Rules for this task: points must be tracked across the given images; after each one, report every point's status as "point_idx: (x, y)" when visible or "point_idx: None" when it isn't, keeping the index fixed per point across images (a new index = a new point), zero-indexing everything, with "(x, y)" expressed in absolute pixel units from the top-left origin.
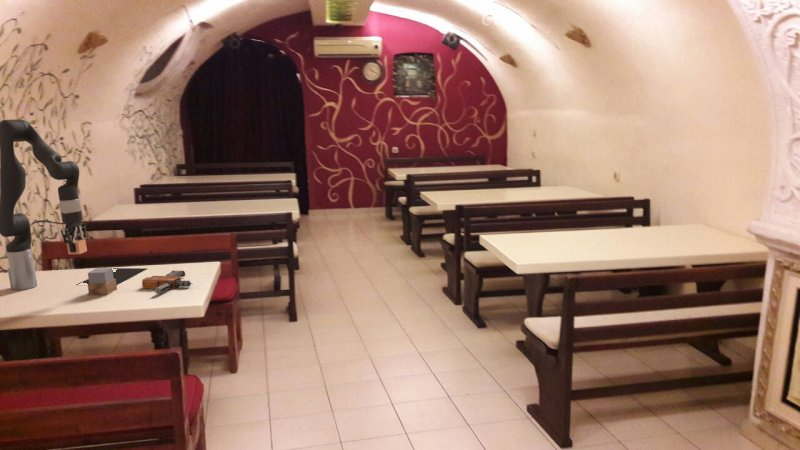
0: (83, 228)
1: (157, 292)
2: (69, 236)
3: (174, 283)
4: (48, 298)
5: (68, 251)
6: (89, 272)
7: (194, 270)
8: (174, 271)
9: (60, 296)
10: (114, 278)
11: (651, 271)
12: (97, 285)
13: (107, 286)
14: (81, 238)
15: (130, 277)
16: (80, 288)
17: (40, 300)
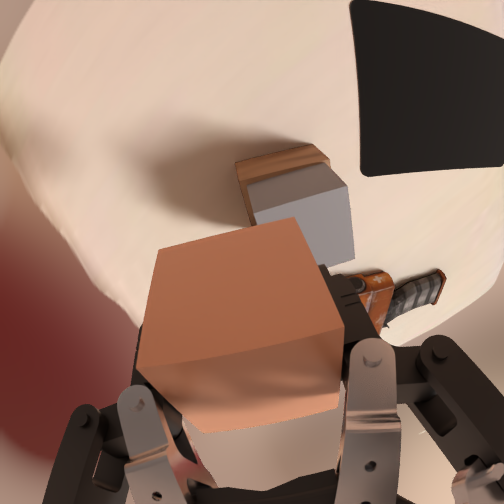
0: (461, 468)
1: None
2: (115, 500)
3: None
4: (159, 21)
5: (157, 275)
6: (263, 215)
7: (459, 287)
8: (437, 288)
9: (195, 47)
10: (436, 114)
11: None
12: (250, 220)
13: None
14: (345, 401)
15: (442, 166)
16: (316, 48)
17: (129, 15)
